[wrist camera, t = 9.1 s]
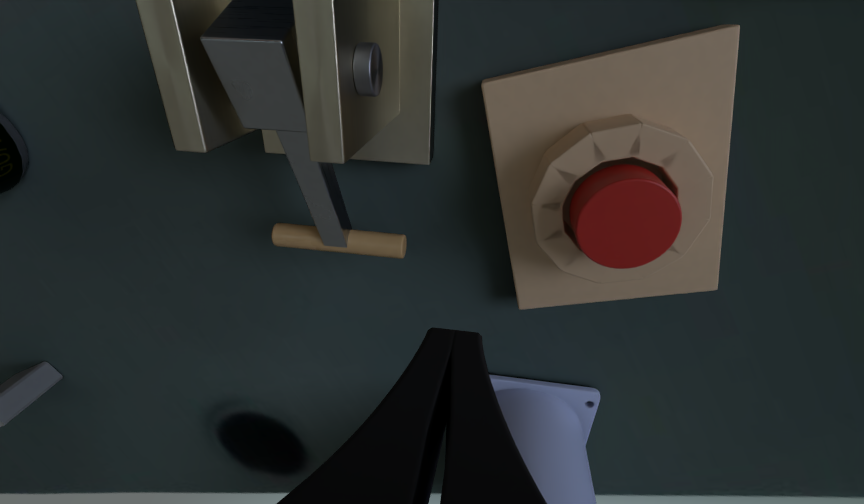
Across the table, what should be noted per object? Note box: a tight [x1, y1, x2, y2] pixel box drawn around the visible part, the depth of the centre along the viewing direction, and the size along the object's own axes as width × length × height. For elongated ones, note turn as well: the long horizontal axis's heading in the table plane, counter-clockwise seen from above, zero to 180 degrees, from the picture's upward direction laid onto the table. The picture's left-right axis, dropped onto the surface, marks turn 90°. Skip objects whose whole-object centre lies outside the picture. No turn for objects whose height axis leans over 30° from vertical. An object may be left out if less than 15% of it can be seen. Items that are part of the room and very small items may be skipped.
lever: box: [200, 0, 406, 259], centre depth 15 cm, size 10×6×2 cm, turn 1°
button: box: [569, 164, 682, 269], centre depth 16 cm, size 4×4×2 cm
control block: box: [481, 25, 740, 309], centre depth 18 cm, size 11×9×3 cm
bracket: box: [135, 0, 439, 165], centre depth 14 cm, size 9×8×8 cm
